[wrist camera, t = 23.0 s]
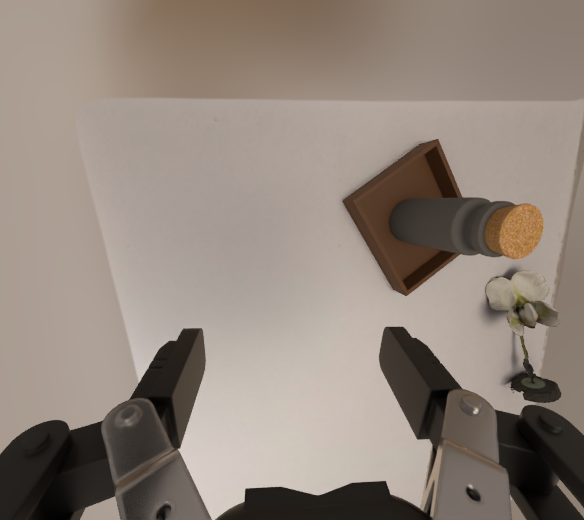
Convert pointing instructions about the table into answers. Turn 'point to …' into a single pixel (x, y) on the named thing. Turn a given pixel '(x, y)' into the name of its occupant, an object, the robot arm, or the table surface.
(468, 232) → the bottle
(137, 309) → the table surface
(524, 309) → the artificial flower
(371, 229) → the tray
